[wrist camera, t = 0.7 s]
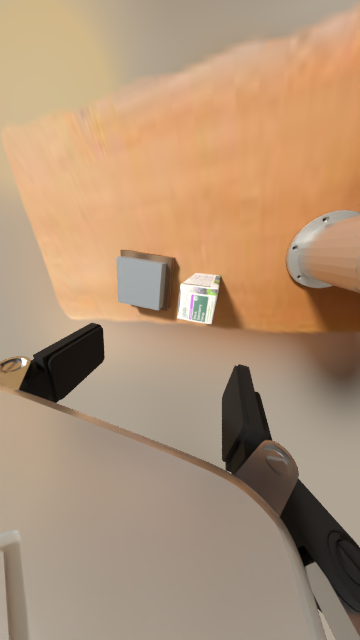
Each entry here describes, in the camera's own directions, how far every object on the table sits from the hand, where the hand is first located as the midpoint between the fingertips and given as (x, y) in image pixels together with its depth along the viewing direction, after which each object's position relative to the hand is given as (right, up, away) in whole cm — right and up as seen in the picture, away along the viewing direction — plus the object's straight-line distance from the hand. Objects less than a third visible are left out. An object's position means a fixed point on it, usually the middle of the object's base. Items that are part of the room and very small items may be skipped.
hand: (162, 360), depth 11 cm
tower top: (-7, +12, +26) cm, 30 cm away
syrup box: (+7, +11, +26) cm, 29 cm away
